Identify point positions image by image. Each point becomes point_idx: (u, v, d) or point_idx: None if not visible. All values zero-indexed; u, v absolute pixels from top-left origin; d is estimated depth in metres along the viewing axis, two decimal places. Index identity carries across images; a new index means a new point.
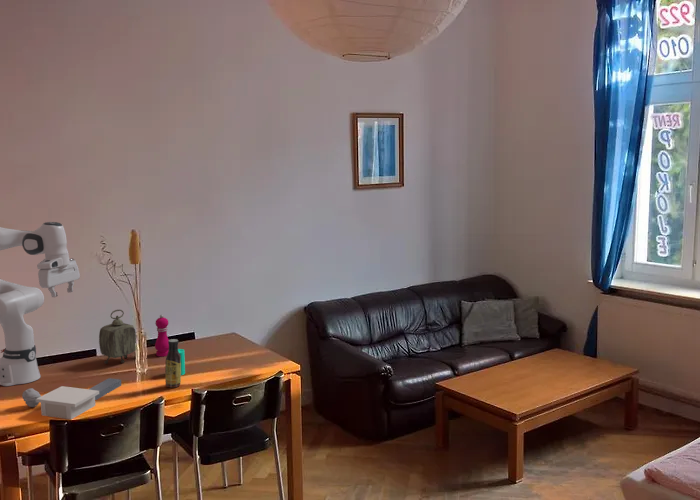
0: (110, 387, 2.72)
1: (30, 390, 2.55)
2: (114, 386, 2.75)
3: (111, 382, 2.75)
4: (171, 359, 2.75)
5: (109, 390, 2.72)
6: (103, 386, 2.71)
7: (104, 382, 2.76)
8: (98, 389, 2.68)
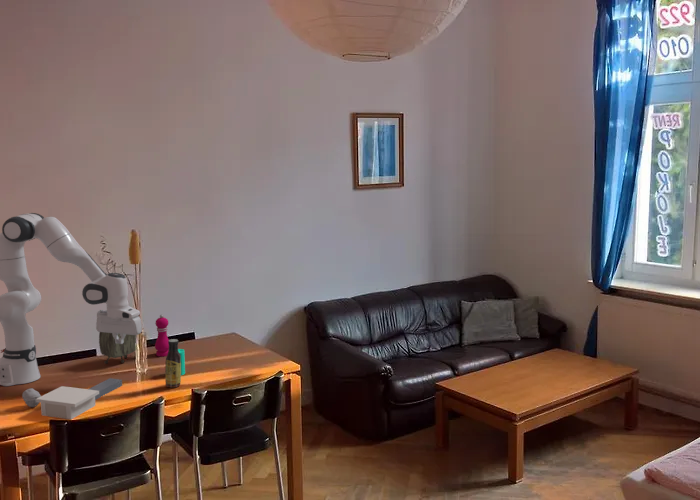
0: (110, 387, 2.72)
1: (30, 390, 2.55)
2: (115, 386, 2.75)
3: (112, 382, 2.75)
4: (172, 359, 2.75)
5: (109, 390, 2.71)
6: (103, 386, 2.71)
7: (105, 382, 2.76)
8: (97, 389, 2.68)
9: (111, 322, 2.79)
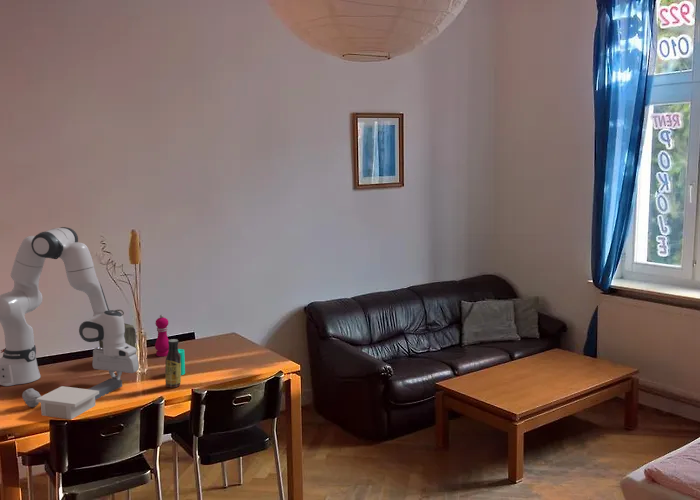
0: (109, 388, 2.71)
1: (30, 390, 2.55)
2: (114, 387, 2.74)
3: (111, 383, 2.74)
4: (171, 359, 2.75)
5: (108, 391, 2.71)
6: (102, 386, 2.71)
7: (105, 382, 2.75)
8: (97, 389, 2.67)
9: (107, 360, 2.78)
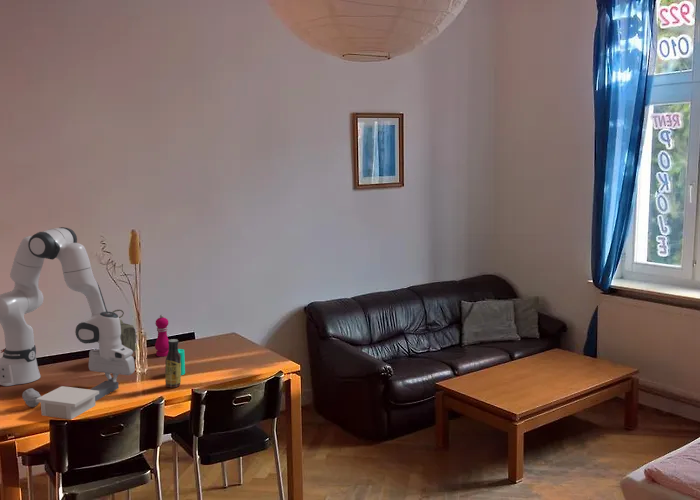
0: (106, 390, 2.69)
1: (30, 390, 2.55)
2: (111, 389, 2.72)
3: (108, 385, 2.72)
4: (171, 359, 2.75)
5: (106, 393, 2.68)
6: (99, 389, 2.68)
7: (101, 385, 2.73)
8: None
9: (103, 361, 2.76)
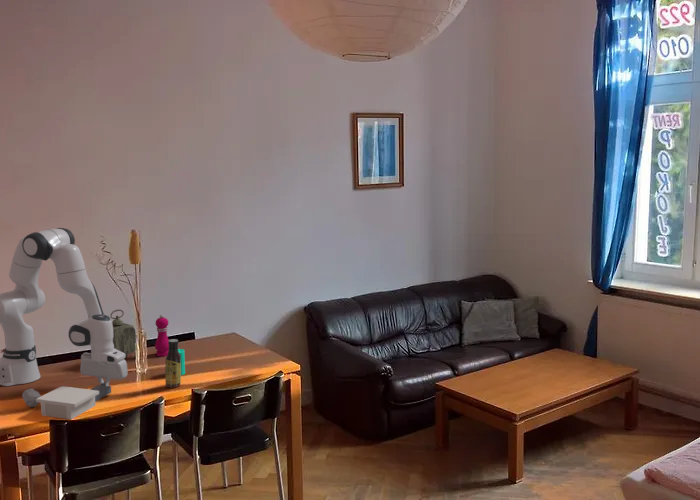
0: (99, 394, 2.64)
1: (30, 390, 2.55)
2: (104, 393, 2.67)
3: (101, 389, 2.67)
4: (171, 359, 2.75)
5: (98, 397, 2.64)
6: None
7: (93, 389, 2.68)
8: None
9: (96, 365, 2.71)
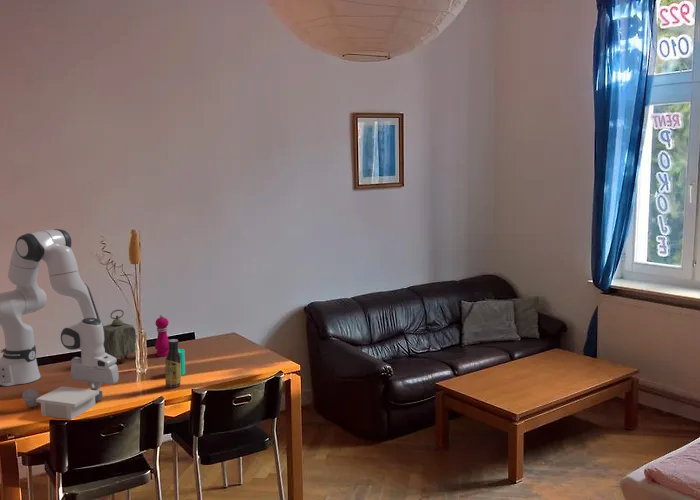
0: None
1: (30, 390, 2.55)
2: (95, 398, 2.61)
3: None
4: (172, 359, 2.75)
5: None
6: None
7: None
8: None
9: (86, 370, 2.65)
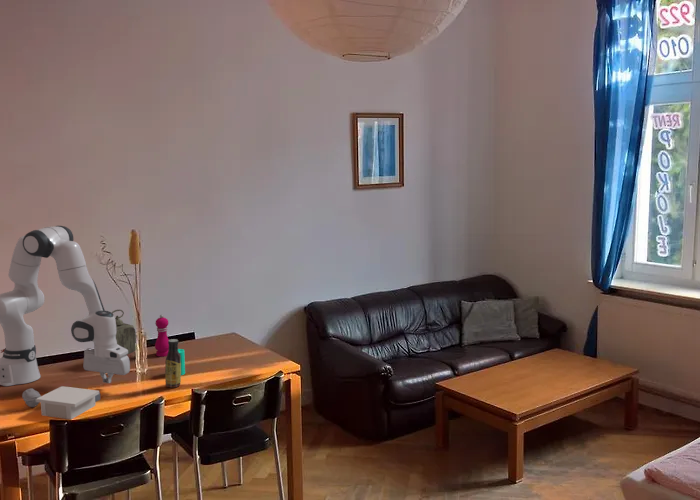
0: None
1: (30, 390, 2.55)
2: None
3: None
4: (171, 359, 2.75)
5: None
6: None
7: None
8: None
9: (98, 361, 2.73)
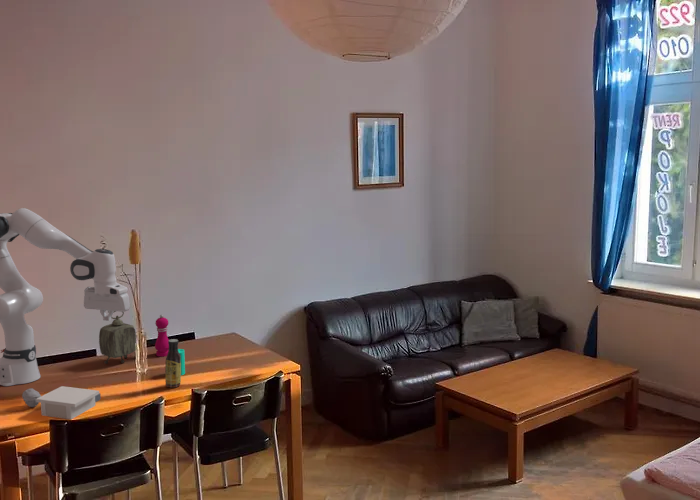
0: None
1: (30, 390, 2.55)
2: None
3: None
4: (171, 359, 2.75)
5: None
6: None
7: None
8: None
9: (99, 299, 2.77)
